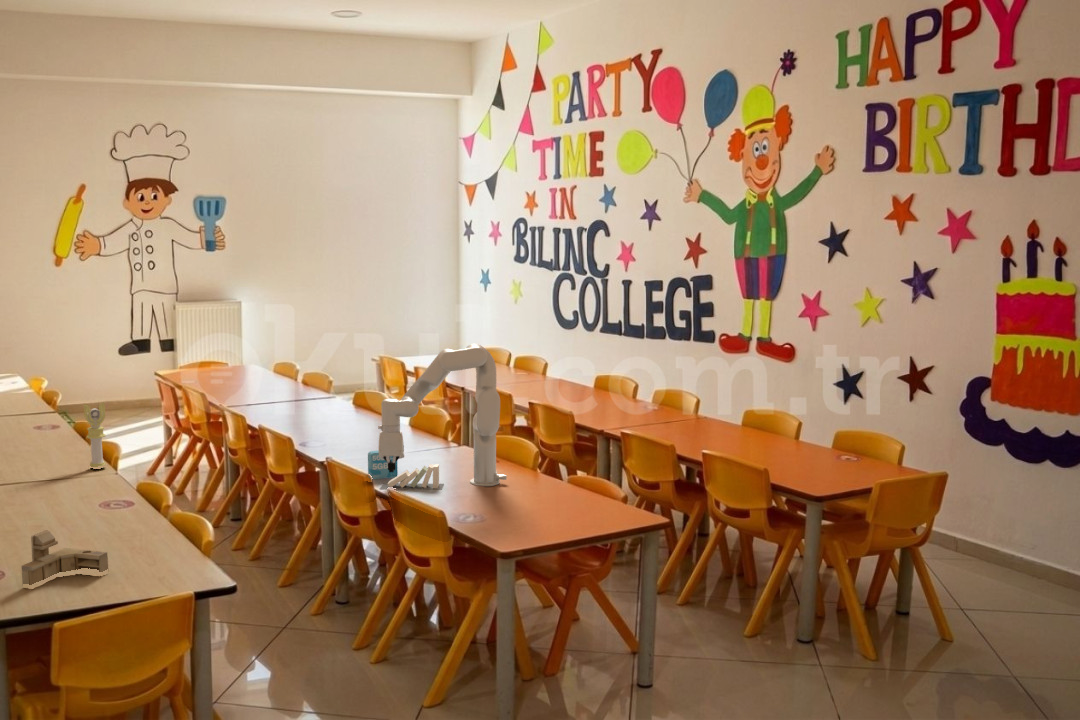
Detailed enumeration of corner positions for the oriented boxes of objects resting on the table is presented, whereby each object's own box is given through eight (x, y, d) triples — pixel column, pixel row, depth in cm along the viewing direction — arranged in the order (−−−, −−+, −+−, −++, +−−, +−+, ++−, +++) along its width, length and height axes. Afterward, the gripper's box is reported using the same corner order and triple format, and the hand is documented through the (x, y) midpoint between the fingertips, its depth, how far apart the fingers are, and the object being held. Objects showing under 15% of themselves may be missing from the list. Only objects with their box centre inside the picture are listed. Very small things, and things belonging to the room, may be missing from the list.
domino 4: (427, 485, 426) (434, 465, 425) (425, 488, 421) (432, 468, 420) (422, 483, 426) (429, 463, 425) (421, 486, 421) (428, 466, 420)
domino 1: (392, 484, 427) (409, 473, 426) (390, 487, 422) (408, 476, 421) (389, 480, 426) (407, 469, 426) (387, 483, 421) (405, 472, 421)
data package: (370, 480, 436) (370, 453, 434) (368, 478, 440) (367, 451, 438) (397, 477, 441) (397, 451, 439) (394, 475, 445) (394, 448, 443)
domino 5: (439, 485, 426) (439, 464, 425) (437, 488, 421) (437, 467, 420) (434, 485, 426) (434, 464, 425) (432, 488, 421) (432, 467, 420)
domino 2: (403, 484, 426) (419, 471, 426) (402, 487, 421) (418, 474, 421) (400, 481, 426) (416, 468, 425) (398, 484, 421) (415, 470, 420)
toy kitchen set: (67, 594, 301) (64, 545, 299) (20, 589, 305) (17, 540, 303) (109, 574, 318) (106, 527, 316) (64, 569, 323) (61, 523, 321)
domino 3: (415, 484, 426) (428, 468, 425) (413, 487, 421) (426, 471, 420) (411, 482, 426) (424, 465, 425) (410, 485, 421) (422, 468, 420)
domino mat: (444, 484, 429) (444, 483, 429) (441, 490, 419) (441, 489, 419) (383, 484, 429) (383, 483, 429) (379, 490, 419) (379, 489, 419)
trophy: (88, 471, 449) (85, 405, 445) (86, 468, 456) (83, 402, 452) (108, 469, 453) (105, 403, 449) (106, 466, 460) (103, 401, 456)
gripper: (371, 430, 417) (372, 473, 420) (407, 430, 417) (408, 473, 419) (374, 426, 425) (375, 469, 427) (410, 426, 424) (410, 469, 427)
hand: (391, 471), depth 423 cm, fingers closed
